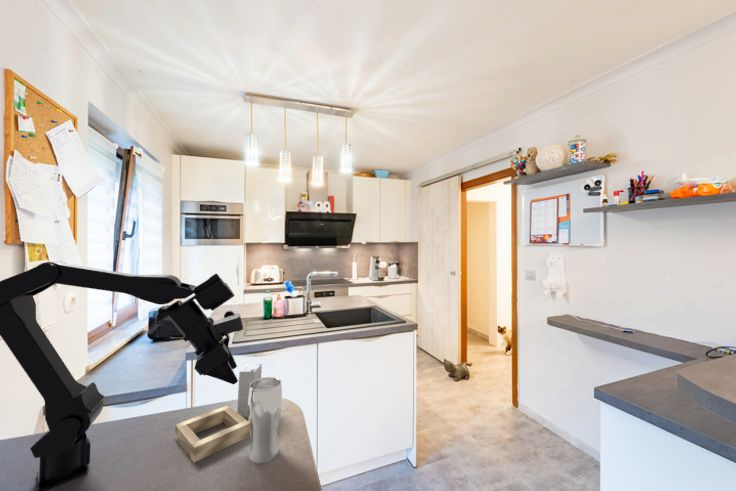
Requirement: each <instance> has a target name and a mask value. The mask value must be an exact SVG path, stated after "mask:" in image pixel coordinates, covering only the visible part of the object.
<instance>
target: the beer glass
mask: <svg viewBox="0 0 736 491" xmlns="http://www.w3.org/2000/svg"><path fill="white" fill-rule="evenodd" d="M282 403H283V392H282V380H281V379H280V378H278V377H274V376H273V377H269V376H268V377H267V376H266V377H261V378H260V379H257V380H255V381H253V382H252V383H251V384H250V385H249V396H248V418H247V419H248V422H249V425H250V439H251V440H250V446H249V451H248V459H249V461H250V462H252V463H255V464H265V463H268V462H270V461H272V460H273V459H275V458H276V457H277V456H278V454H279V450H280V449H279V442H278V430H279V424H280V419H281V413H282V406H283V405H282Z"/></svg>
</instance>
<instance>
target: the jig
mask: <svg viewBox="0 0 736 491" xmlns="http://www.w3.org/2000/svg"><path fill="white" fill-rule="evenodd" d="M222 423H224V424H225V426H227V427H228V428H225V429H223V430H220V431H219V432H218V431H217V432H215V433H213V434H212V435H210V436H207V437H204V438H202V439H200V437H198V435H197V433H198V434H199V433H201V432H202V431H205V430H208V429H210V428H212V427H215V426H218V425H220V424H222ZM174 426H175V427H174V439H175V440H176V441H177V442H178V444H179V445H180V447H181V448H182V449H183V450H184V451H185V453H186V454H187V456H188V457H189V458H190V459H191V461H192V462H193V463H196V462H198V461H200V460H202V459H203V460H204V459H205V458H208V457H209V456H211V455H213V454H215V453H217V452H219V451H222V450H224V449H226V448H227V447H230V446H232V445H234V444H236V443H239V442H241V441H242V440H244V439H245V440H246V438H249V437H251V431H250V425H249V420H247V419H246V418H243V417H242V416H241V415H239V414H238V413H237V411H236V410H234V409H233V408H232V407H231V406H229V405H224V406H221V407H219V408H216V409H214V410H211V411H208V412H205V413H202V414H200V415H197V416H195V417H192V418H190V419H186V420H184V421H182V422H178V423H176V424H175V425H174Z"/></svg>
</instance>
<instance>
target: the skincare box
mask: <svg viewBox="0 0 736 491" xmlns="http://www.w3.org/2000/svg"><path fill="white" fill-rule="evenodd" d="M262 365H263V364H262V363H261V362H258V363H257V362H255V363H246V364H245V366H243V368H242V369H241V370H240V371H239V376H238V392H237V409H236V410H237V411H236V412H237V413H238V414H239V415H241V416H242V417H243V418H245V419H246V418H247V419H248V396H249V385H250V384H251V383H252V382H253V381H255V380H257V379H260V378H262V368H263V366H262Z"/></svg>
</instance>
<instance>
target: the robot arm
mask: <svg viewBox="0 0 736 491" xmlns="http://www.w3.org/2000/svg"><path fill="white" fill-rule="evenodd" d="M55 285H63V286H69V287H79V288H84V289H85V288H86V289H92V290H98V291H99V290H100V291H107V292H113V293H120V294H121V293H122V294H125V295H129V296H132V297H135V298H136V299H139V300H142V301H146V302H149V303H151V304H152V303H153V304H155V305H161V307H159V308H158V309H157V316H156V319H155V322H157V323H160V322H161V321H162V320H164V319H166V318H168V319H169V320H170V321H171V323H173V324H174V326H175V327H176V328H177V329H178V331H179V332H180V334H182V336H183V337H182V340H183V341H184V342H185V343H187V342H189V344H190V345H191V346H192V347H193V348H194V350H195V351H194V354H195V355H196V356H197V357H196V362H195V365H194V370H195V371H196V372H197V373H198V375H199V376H208V377H211V378H215V379H218V380H221V381H223V382H225V383H229V384H232V385H235V384H238V383H239V378H237V375H236V374H235V372H234V370H235V369H236V368H237V367H238V365H237V363H236V361H235V358H234V356H233V354H232V352H231V349H230V347H229V343H230V339H231V338H230V335H229V334H231V333H235V332H241V331H242V330H244V324H243V321H242V317H241V313H239V312H237V313H235V312H234V311H233V310H227V311H224V314H223V317H221V318H219V319H216V320H214V319H213V318H212V317H208V316H207V315H206V314H205V313H204V311H203V310H205V311H206V310H207V311H208V310H210V311H214V310H216V309H217V308H219V307H220V306H222V305H223V304H225V303H227V302H228V301H230V300H231V299H232V298H234V297H235V293H234V292H233V290H232V289H231V288H230V286H229V285H228V284H227V282H225V281H224V280H223V279H222V278H221V277H220V275H219V274H218V273H214V274H212V275H211V276H210V277H209V278H207V279H206V280H205V281H203V282H201V283H200V284H198V285H193V284H189V283H185V282H182V281H181V280H180V279H179V277H178V276H176V275H172V274H171V275H170V274H131V273H125V272H119V271H113V270H106V269H101V268H94V267H89V266H83V265H82V266H81V265H78V264H77V265H76V264H69V263H67V262H63V261H46V262H43V263H40V264H38V265H37V266H34V267H32V268H31V269H28V270H26V271H23V272H20V273H17V274H15V275H13V276H10V277H7V278H5V279H2V280H0V337H1V339H2V340H3V341H4V343H5V345H6V346H7V347H8V350H9V351H10V352H11V353H12V355H13V357H14V358H15V359H16V361H17V362H18V364H19V365H20V367H21V368H22V370H23V371H24V373H25V374H26V375H27V377H28V378H29V379H30V381H31V383H32V384H33V385H34V387H35V388H36V390H37V392H39V393H38V394H40V395H41V397H42V398H43V401H44V420H45V423H46V425H47V429H48V430H47V431H46V432H45V433H44V434H43V435H42V436H41V437H40V438H38V440H37V441H36V442H35V443H34V444H33V445H32V446H31V447H30V451H31V453H32V455H33V457H34V458H35V459H38V469H37V470H38V471H36V484H37V491H41V490H43V491H46V490H47V489H50V488H52V487H54V486H58V485H61V484H63V483H65V482H67V481H69V480H72V479H75V478H77V477H80V476H82V475H85V474H87V473H88V471H89V470H88V465H90V462H91V440H90V438H88V435H87V433H86V432H87V431H88V430H89V428H90V427H91V426H92V425H93V424H94V422H95V421H96V419H97V418H98V417H99V416H100V415H101V413H102V410H103V409H104V402H103V399H105V395H103V394H102V393H101V392H100V391H99V390H98V389H99V388H98V387H97V384H96V383H95V382H94V381H92V382H90V383H89V384H87V385H84V384H82V383H80V382H78V381H77V380H76V379H75V377H74V376H73V374H72V372H70V369H69V368H68V367H67V365H66V363H65V362H64V360H63V359H62V358H61V356H60V355H59V353H58V352H57V350H56V348H55V347H54V345H53V344H52V343H51V341H50V339H49V338H48V336H47V335H46V333H45V331H43V328H42V327H41V325H40V323H38V321H37V304H36V301H35V298H34V296H37V295H38V294H40V293H43V292H44V291H46V290H48V289H49V288H50V287H52V286H55ZM193 294H194V295H193ZM190 296H191V297H190ZM189 297H190V298H189ZM187 298H188V299H187ZM183 299H186V300H184V301H182V300H183ZM174 300H177V301H175V302H173V301H174ZM195 300H196V301H195ZM171 302H173V303H172V304H170V305H168V304H169V303H171ZM196 302H197V303H196ZM162 305H168V306H167V307H164V306H162ZM201 308H202V309H203V310H202V309H201ZM224 337H225V338H224Z"/></svg>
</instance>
